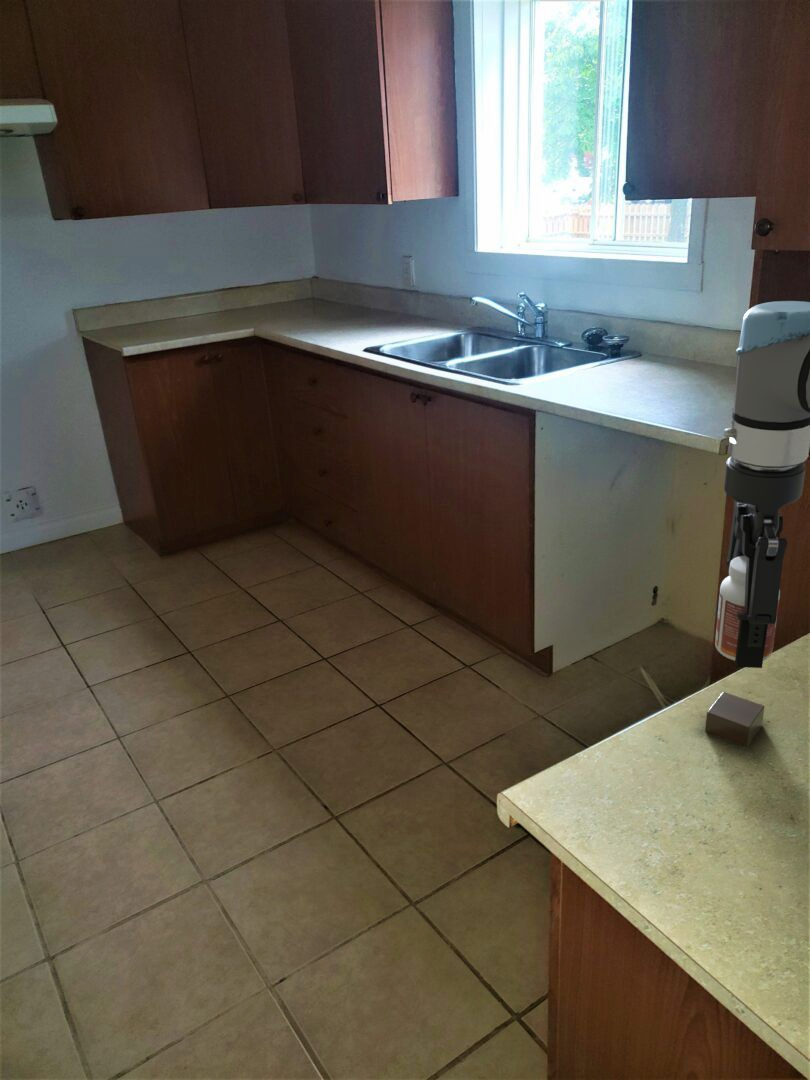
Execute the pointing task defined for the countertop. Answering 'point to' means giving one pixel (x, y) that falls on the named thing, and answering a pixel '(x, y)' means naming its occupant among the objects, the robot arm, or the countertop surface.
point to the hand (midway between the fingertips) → (742, 647)
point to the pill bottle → (736, 611)
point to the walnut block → (734, 719)
